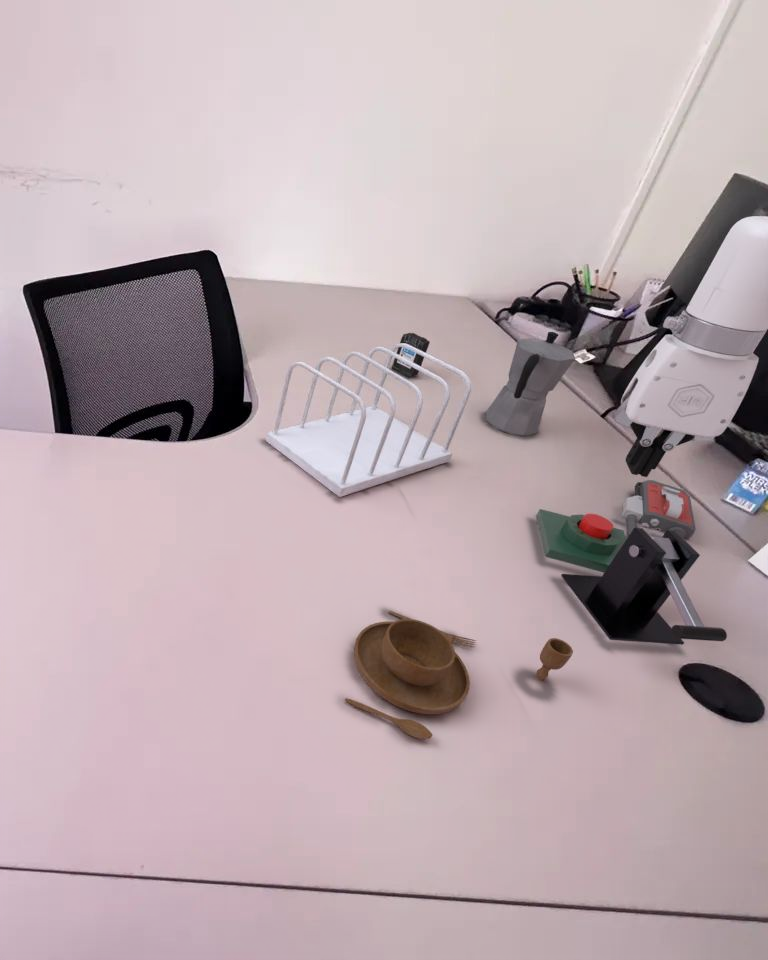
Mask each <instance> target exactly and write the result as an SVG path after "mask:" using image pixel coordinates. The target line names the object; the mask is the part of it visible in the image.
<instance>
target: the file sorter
mask: <svg viewBox="0 0 768 960" xmlns="http://www.w3.org/2000/svg"><path fill="white" fill-rule="evenodd" d="M399 347H405V348H407V349H409V350H411V351H413V352H415V353H417V354H419V355H421V356H423V357H424V359H427V360H429V361H431V362H433V363H435V364H437V365H439V366H441V367H443V368H445V369H447V370H449V371H451V372H453V373H455V374H456V375H459V376H460V377H461V378H462V379H463V381H464V383H465V385H466V386H465V387H466V389H465V393H464V396H463V399H462V401H461V404H460V407H459V408H458V411H457V414H456V415H455V418H454V421H453V424H452V426H451V429H450V432H449V434H448V436H447V439H446V441H445V443H444V447H443V446H442V445H440V444H439V443H438V442H435V441H433V438H434V437H435V433H436V431H437V429H438V427H439V425H440V422H441V420H442V418H443V416H444V413H445V411H446V409H447V407H448V404H449V401H450V399H451V398H450V397H451V391H450V390H451V389H450V387H449V385H448V383H447V382H446V380H445V379H444V378H442V377H441V376H439V375H437V374H435V373H433V372H432V371H430V370H428V369H426V368H424V367H422V365H421V366H419V365H417V364H415V363H413V362H411V361H409V360H408V359H406V358H404V357H402V356H400V355H398V354H396V353H397V352H396V351H397V350H398V348H399ZM368 352H369V353H368V354H367V355H365V354H364V353H362V352H359V351H351V352H349V353H347V354H346V355H345V356H344V358H343V360H342V362H341V361H340V360H338V359H337V358H334V357H332V356H325V357H323V358H321V359H320V360H319V361H318V363H317V364H316V367H315V368H314V367H312V366H311V365H309V364H308V363H306V362H303V361H295V362H292V363H291V364H290V365H289V367H288V368H287V372H286V375H285V380H284V385H283V389H282V394H281V397H280V401H279V405H278V411H277V416H276V420H275V424H274V430H272V431H271V430H270V431H268V432H267V435H266V438H265V442H266V443H268V444H269V445H271V446H272V447H273V448H274V449H276V450H277V451H279V452H280V453H281V454H283V455H284V456H285V457H286V458H287V459H289V460H290V461H292V462H293V463H294V464H296V465H297V466H298V467H299V468H301V469H302V470H303V471H304V472H306V473H307V474H308V475H310V476H311V477H313V478H314V479H315V480H316V481H318V482H319V483H320V484H322V485H323V486H324V487H326V488H327V489H328V490H330V491H331V492H332V493H333V494H335V495H336V496H337V497H340V498H341V497H344V496H347V495H350V494H353V493H356V492H359V491H362V490H365V489H366V490H367V489H368V488H372V487H375V486H377V485H381V484H383V483H386V482H390V481H393V480H396V479H399V478H402V477H405V476H408V475H412V474H414V473H417V472H420V471H424V470H425V469H430V468H433V467H436V466H439V465H442V464H445V463H448V462H450V461H451V458H452V455H453V453H452V451H450V450H449V448H450V445H451V442H452V440H453V438H454V436H455V433H456V431H457V429H458V425H459V423H460V420H461V418H462V415H463V413H464V410H465V408H466V405H467V403H468V400H469V398H470V395H471V393H472V383H471V379H470V377H469V376H468V375H467V374H466V373H465V372H464V371H463V370H461V369H459V368H457V367H455V366H453V365H451V364H449V363H447V362H445V361H443V360H441V359H439V358H437V357H435V356H432V355H430V354H429V353H427V352H426V353H425V352H423V351H421V350H419V349H417V348H415V347H413V346H410V345H408V344H406V343H400V342H399V343H397V344H395V345H394V346H393V347H392V348H391V349H389V348H387V347H384V346H376V347H374V348H372V349H371V350H370V351H368ZM377 352H383V353H385V354H387V355H388V357H387V360H386V363H385V366H384V365H383V364H381V363H379V362H378V361H376V360H374V359H372V358H373V355H374V354H375V353H377ZM353 356H354V357H358V358H360V359H362V360H363V361H364V364H363V368H362V371H361V373H359V372H358V371H356V370H354V369H352V368H351V367H350V366H348V365H347V363H348V361H349V359H350V358H352V357H353ZM393 358H394V359H395V358H396V359H398V360H400V361H402V362H404V363H406V364H407V365H409V366H411V367H413V368H415V369H416V370H418V371H419V373H422V374H424V375H426V376H428V377H429V378H431V379H433V380H435V381H436V382H438V383H439V384H440V385H441V386H442V387H443V389H444V399H443V402H442V405H441V407H440V408H439V412H438V414H437V416H436V418H435V421H434V422H433V426H432V428H431V430H430V432H429V434H428V437H427V436H426V435H424V434H422V433H421V432H419V431H417V430H416V429H415V427H416V424H417V422H418V419H419V417H420V415H421V413H422V409H423V405H424V397H423V394H422V391H421V389H420V388H419V387H418V386H417V385H416V384H415V383H414V382H411V381H410V380H408V379H406V378H405V377H404V376H402V375H400V374H399V373H396V371H394V370H393V371H392V370H391V369H389V368H390V366H391V364H392V363H391V362H392V359H393ZM325 362H331V363H333V364H334V365H336V366H337V367H338V368H339V372H338V375H337V378H336V380H334V379H333V378H330V377H329V376H328V375H326V374H324V373H322V372H321V368H322V366H323V364H324V363H325ZM370 365H372V366H373V367H375V368H377V369H379V370H380V371H382V376H381V379H380V381H379V384H377V383H376V382H374V381H372V380H371V379H369V378H367V377H366V374H367V371H368V369H369V366H370ZM296 367H302V368H303V369H305V370H307V371H308V372H310V373H312V374H313V377H312V381H311V384H310V389H309V392H308V394H307V395H308V396H307V399H306V403H305V407H304V410H303V414H302V417H301V421H300V423H299V424H296V425H292V426H288V427H284V428H280V425H281V421H282V417H283V412H284V407H285V404H286V398H287V395H288V390H289V386H290V381H291V377H292V373H293V370H294V369H295V368H296ZM345 372H346V373H348V374H351V375H352V376H354V377H355V378H357V379H359V381H358V384H357V388H356V391H355V392H354V391H352V390H350V389H348V388H347V387H345V386H344V385H342V384H341V383H342V378H343V375H344V373H345ZM387 375H389V376H391V377H392V378H394V379H395V380H397V381H399V382H401V383H402V384H404V385H405V386H407V387H409V389H412V390H413V391H414V393H415V394H416V397H417V406H416V409H415V411H414V415H413V417H412V420H411V423H410V425H409V426H408V425H407V424H406V423H404V422H402V421H401V420H399V419H398V418H396V417H395V414H396V410H397V409H396V402H395V399H394V397H393V396H392V394H391V392H389V390H387V389H385V387H384V384H385V381H386V378H387ZM319 378H320V379H321V380H323V381H324V382H326V383H328V384H329V385H331V386H333V387H334V388H333V392H332V396H331V398H330V402H329V406H328V408H327V412H326V416H325V417H324V418H319V419H316V420H311V421H308V422H306V421H307V417H308V413H309V411H310V407H311V403H312V399H313V396H314V393H315V389H316V385H317V381H318V379H319ZM363 384H367V385H368V386H369V387H371V388H373V389H375V391H376V394H375V397H374V401H373V404H372V405H371V406H367V407H366V405H365V402H364V400H363V399H362V398H361V397H360V393H361V390H362V387H363ZM383 387H384V388H383ZM338 391H341V392H343V393H344V394H346V395H347V396H349V397H351V398H352V400H353V401H352V403H351V407H350V410H349V411H348V412H343V413H340V414H336V415H332V411H333V408H334V405H335V403H336V402H335V401H336V398H337V394H338ZM381 394H382V395H384V396H385V397H386V398H387V400H388V402H389V404H390V412H389V413H388V412H386V411H385V410H383V409H380V408H379V407H377V406H378V403H379V400H380V396H381ZM357 404H358V405H359V409H356V405H357ZM279 428H280V429H279Z"/></svg>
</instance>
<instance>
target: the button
mask: <svg viewBox="0 0 768 960" xmlns="http://www.w3.org/2000/svg"><path fill="white" fill-rule="evenodd" d="M583 515H584V517H583V519H582V520H581V522H580V523H579V525H578V528H579V529H580V530H582V531H583V532H584V533H585V534H587V535H589V536H591V537H594V538H598V539H606V538H607V537H608V536H609V534H610V533H611V531H612V530H613V528H615V527H614V524H613V523H612V522H611V521H610V520H609V519H608V518H606V517H604V516H602V515H599V514H597V513H586V514H583Z"/></svg>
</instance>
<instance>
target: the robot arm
mask: <svg viewBox="0 0 768 960" xmlns="http://www.w3.org/2000/svg"><path fill="white" fill-rule="evenodd" d="M662 327H663V329H669V330H670V331H671V332H672V334H665V335H664V336H663V337H662V338H661V339H660V341H658V343H657V344H656V345H655V346H654V347H653V349H652V350H651V351H650V353H649V354H648V355H647V356H646V357H645V359H644V361H643V362H642V364H641V365H640V366H639V368H638V369H637V371H636V372H635V374H634V375H633V377H632V379H631V380H630V382H629V383H628V385H627V387H626V388H625V390H624V393H623V394H622V396H621V398H620V399H621V400H620V406H619V407H618V408H616V410H615V411H614V412H613V413H612V414H611V415H612V418H613V421H614V422H615V423H616V424H618V425H621V426H623V427H625V428H629V429H631V430H632V432H633V434H634V435H635V437H636V439H635V441H634V442H633V444H632V446H631V448H630V450H629V451H628V453H627V454H626V457H625V463H626V465H627V467H628V469H629V471H630V473H631V475H633V476H634V475H635V476H638V475H640V476H641V477H644V478H648V476H649V475H650V473H651V472H652V470H656V469H657V468H658V466H659V464H660V462H661V461H662V459H663V458H664V456H665V455H666V453H667V452H671V451H673V450H674V448H676V447H678V446H681V445H683V444H686V443H688V442H691V441H693V442H711V441H713V440H714V439H715V438H716V437H719V436H720V435H722V434H723V433H724V432H725V431H726V429H727V428H728V427H729V425H730V423H731V422H732V420H733V418H734V416H736V413H737V411H738V410H739V407H740V406H741V403H742V402H743V400H744V398H745V396H746V393H747V391H748V390H749V387H750V384H751V383H752V380H753V377H754V375H755V372H756V370H757V368H758V367H757V366H758V364H759V361H760V360H759V359H760V358H759V357H758V356H757V355H756V354H755V353H754V352H755V350H756V348H757V347H758V345H759V343H760V342H761V341H762V339H763V337H764V336H765V334H766V333H767V331H768V216H765V215H753V216H746V217H744V218H741V219H740V220H738V221H737V222H735V223H734V224H733V225H732V227H731V228H730V229H729V231H728V233H727V235H725V238H724V239H723V241H722V243H721V244H720V247H719V248H718V250H717V252H716V254H715V256H714V258H713V259H712V262H711V263H710V265H709V266H708V269H707V270H706V273H705V274H704V276H703V278H702V280H701V281H700V283H699V285H698V287H697V289H696V290H695V292H694V294H693V296H692V298H691V300H690V301H689V303H688V304H687V307H686V309H685V310H684V309H683V310H682V312H681V314H679V316H678V315H677V316H676V315H675V316H670V315H668V316H666V318H665V319H664V322H663V324H662ZM658 429H661V430H660V431H659V432H658ZM657 432H658V433H657ZM656 434H657V435H656Z"/></svg>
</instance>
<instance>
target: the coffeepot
mask: <svg viewBox="0 0 768 960" xmlns="http://www.w3.org/2000/svg"><path fill="white" fill-rule="evenodd" d="M557 338H559V333H557V332H555V331H548V332H547V336H546V339H540V338H536V337H535V338H534V337H527V338H521V339H520V338H519V339H517V342H516V345H515V349H514V353H513V357H512V361H511V364H510V368H509V371H508V381H507V383H506V385H503V387H502V388H501V390H500V391H499V392H498V394H497V395H496V397H495V398H494V400H493V401H492V403H491V404H490V406H489V407H488V409H487V410H486V411H485V420H486V422H487V423H488V424H489V425H490V426H492V427H493V428H494V429H497V430H498V431H501V432H503V433H506V434H509V435H514V436H520V437H530V436H534V434H537V433H539V428H540V425H541V422H542V419H543V418H542V417H543V414H544V410H545V406H546V404H547V396H548V394H549V392H551V391H554V390H555V388H556V386H557V385H558V384H559V382H560V381H561V379H562V378H563V377H564V375H565V374H566V373H567V371H568V370H569V368H570V367H571V366H572V364H573V363H574V361H575V360H576V357H575V354H574V351H573V350H571V349H570V348H567V347H565V346H563V345H562V343H561V342H556V340H557Z"/></svg>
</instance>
